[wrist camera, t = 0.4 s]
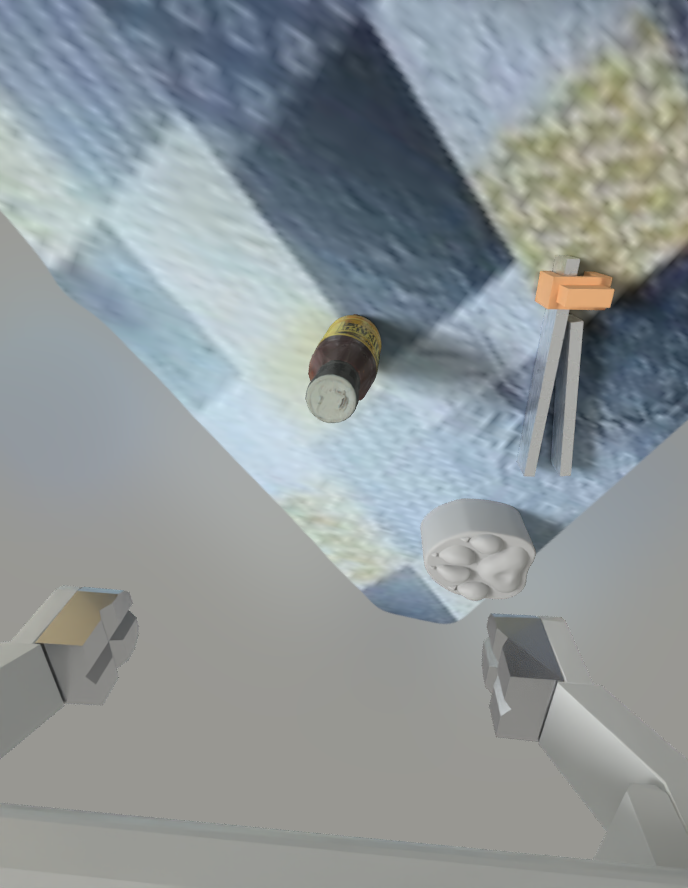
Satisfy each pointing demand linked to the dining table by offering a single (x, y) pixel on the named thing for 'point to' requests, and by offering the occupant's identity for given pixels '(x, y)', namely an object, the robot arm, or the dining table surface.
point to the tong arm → (566, 397)
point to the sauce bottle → (343, 368)
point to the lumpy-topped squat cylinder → (477, 548)
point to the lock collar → (574, 291)
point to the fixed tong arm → (544, 374)
